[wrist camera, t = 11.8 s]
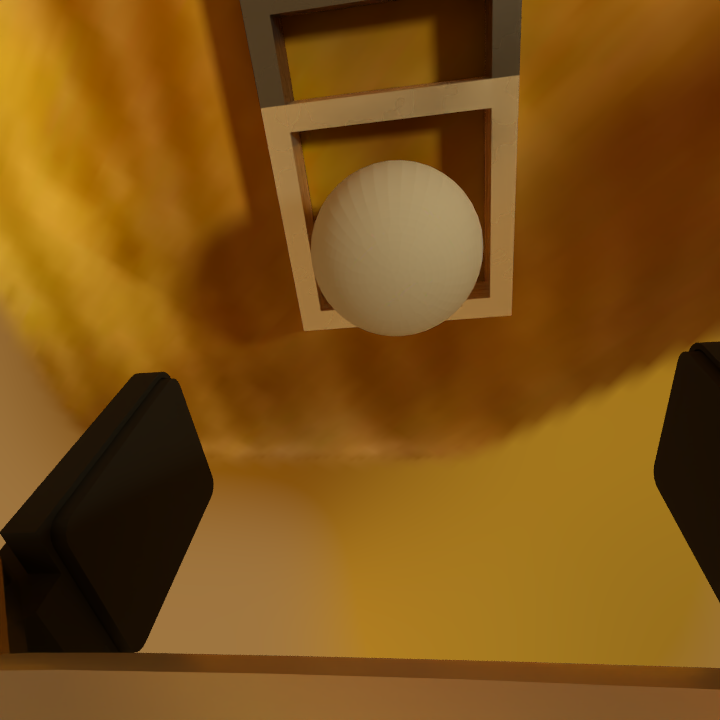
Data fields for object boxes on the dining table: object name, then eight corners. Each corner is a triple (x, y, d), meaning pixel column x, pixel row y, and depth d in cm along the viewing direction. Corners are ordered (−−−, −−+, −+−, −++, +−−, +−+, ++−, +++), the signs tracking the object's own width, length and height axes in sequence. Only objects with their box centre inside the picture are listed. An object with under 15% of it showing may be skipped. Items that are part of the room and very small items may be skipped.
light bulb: (487, 182, 23) (539, 244, 15) (417, 289, 26) (426, 396, 17) (373, 112, 22) (355, 133, 14) (313, 230, 25) (265, 312, 16)
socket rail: (522, -451, 15) (538, -517, 13) (504, 298, 26) (511, 315, 24) (184, -368, 16) (158, -419, 14) (310, 313, 27) (304, 331, 26)
